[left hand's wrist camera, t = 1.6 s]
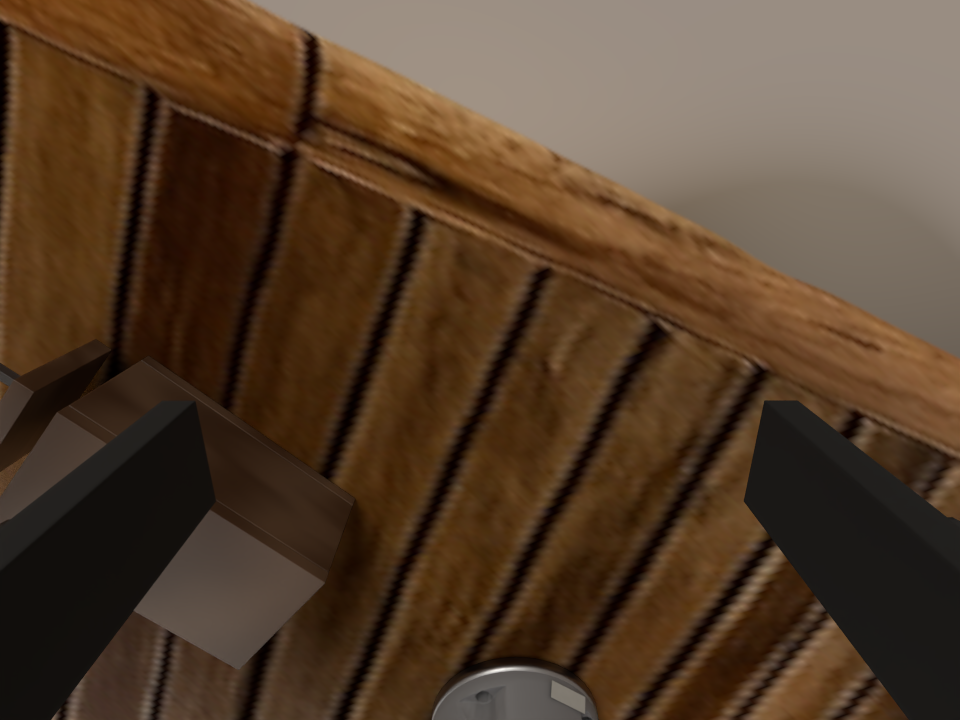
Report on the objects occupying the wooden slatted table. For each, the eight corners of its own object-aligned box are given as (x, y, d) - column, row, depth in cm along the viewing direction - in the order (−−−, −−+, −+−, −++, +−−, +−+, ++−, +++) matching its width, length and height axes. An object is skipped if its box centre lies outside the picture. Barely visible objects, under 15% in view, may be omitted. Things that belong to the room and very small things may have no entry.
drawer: (-35, 380, 38) (-142, 428, 31) (20, 287, 35) (-83, 318, 29) (238, 551, 43) (195, 622, 36) (302, 479, 40) (268, 542, 34)
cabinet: (82, 449, 41) (-20, 525, 32) (148, 355, 38) (56, 412, 30) (282, 574, 45) (238, 670, 37) (355, 498, 42) (325, 583, 34)
